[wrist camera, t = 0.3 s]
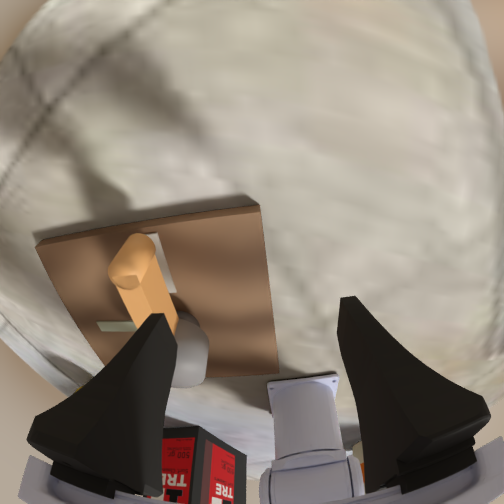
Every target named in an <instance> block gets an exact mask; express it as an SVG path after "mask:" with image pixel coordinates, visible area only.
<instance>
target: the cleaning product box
mask: <svg viewBox="0 0 504 504" xmlns="http://www.w3.org/2000/svg"><path fill="white" fill-rule="evenodd" d="M246 462H247V455H245V454H243V453H241V452H240V451H238V450H236V449H235V448H233V447H231V446H230V445H228V444H226V443H225V442H223V441H222V440H220V439H218V438H217V437H215V436H214V435H212V434H211V433H209V432H208V431H206V430H205V429H203V428H202V427H200V426H193V427H180V428H163V438H162V482H163V494H162V495H161V496H159V497H152V496H147V495H143V497H145V498H150V499H155V500H161V501H167V502H173V503H180V504H246Z"/></svg>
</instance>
